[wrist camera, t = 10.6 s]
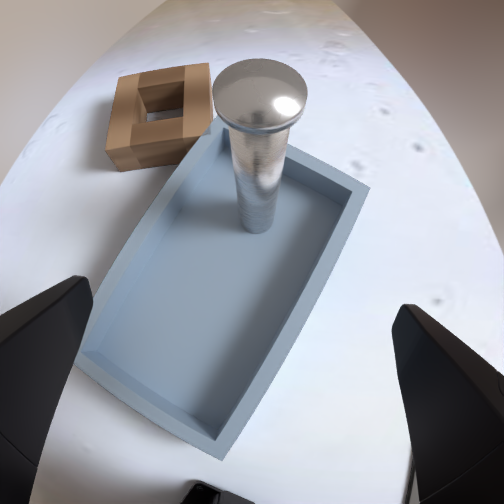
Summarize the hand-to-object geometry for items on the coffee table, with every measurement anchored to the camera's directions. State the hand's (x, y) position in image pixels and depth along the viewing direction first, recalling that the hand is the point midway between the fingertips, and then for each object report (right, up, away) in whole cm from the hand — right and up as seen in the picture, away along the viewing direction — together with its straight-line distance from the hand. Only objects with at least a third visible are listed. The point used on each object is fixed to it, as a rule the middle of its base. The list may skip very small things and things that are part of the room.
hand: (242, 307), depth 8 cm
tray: (-2, -1, +14) cm, 14 cm away
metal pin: (+1, +4, +14) cm, 14 cm away
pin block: (-7, +12, +17) cm, 22 cm away
